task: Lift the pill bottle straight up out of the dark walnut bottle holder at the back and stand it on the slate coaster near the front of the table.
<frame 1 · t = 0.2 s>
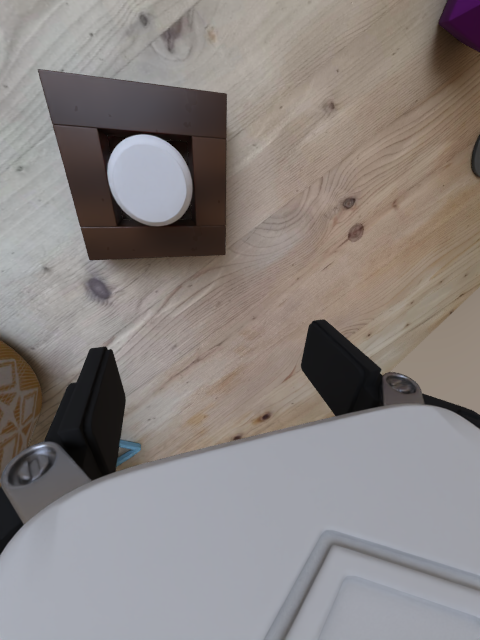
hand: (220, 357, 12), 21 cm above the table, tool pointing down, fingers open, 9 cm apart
pill bottle: (153, 181, 26), resting in holder
chair: (108, 453, 43), on the table
perfume bottle: (460, 7, 25), on the table
holder: (153, 181, 25), on the table
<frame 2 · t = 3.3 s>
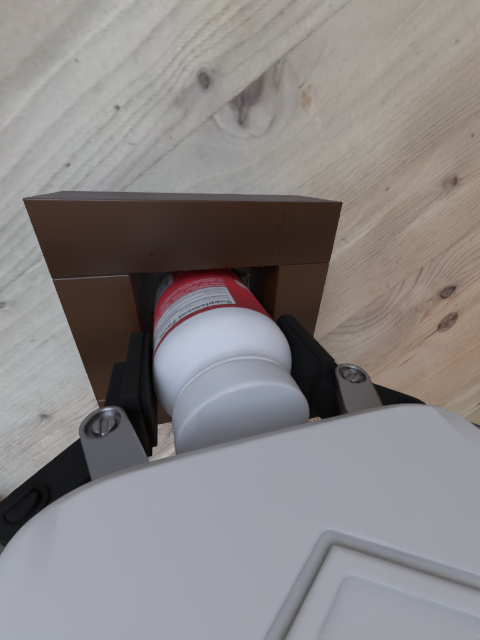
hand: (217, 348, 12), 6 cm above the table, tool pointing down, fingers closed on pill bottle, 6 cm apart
pill bottle: (200, 297, 18), resting in holder, touching gripper
holder: (200, 298, 17), on the table
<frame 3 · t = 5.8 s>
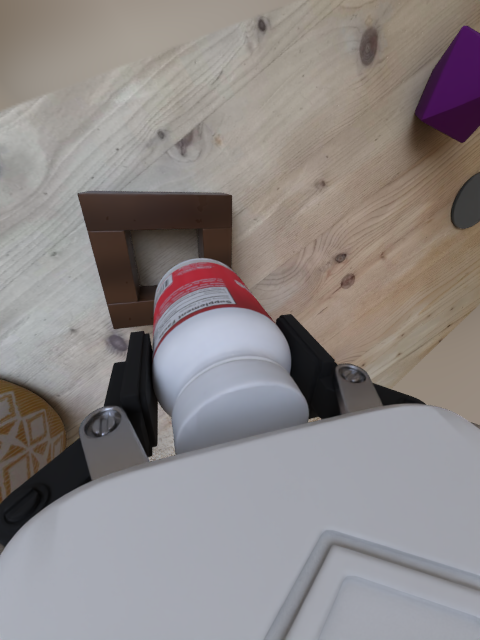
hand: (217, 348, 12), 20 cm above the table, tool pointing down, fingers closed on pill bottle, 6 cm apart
pill bottle: (200, 297, 18), point 14 cm above the table, touching gripper
coaster: (473, 200, 38), on the table
perfume bottle: (433, 99, 29), on the table
holder: (167, 255, 29), on the table
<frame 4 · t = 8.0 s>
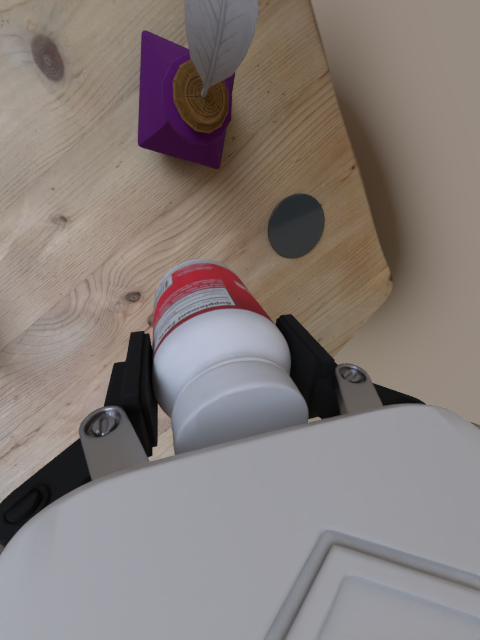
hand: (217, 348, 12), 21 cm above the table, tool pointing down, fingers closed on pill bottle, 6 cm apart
pill bottle: (199, 298, 18), point 15 cm above the table, touching gripper
coaster: (295, 227, 33), on the table
perfume bottle: (182, 116, 24), on the table
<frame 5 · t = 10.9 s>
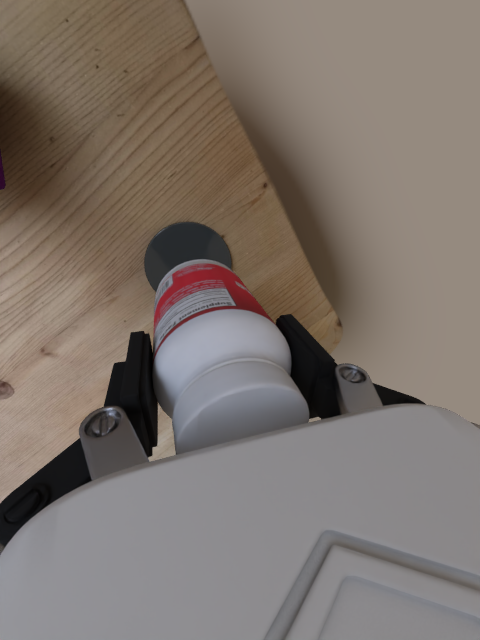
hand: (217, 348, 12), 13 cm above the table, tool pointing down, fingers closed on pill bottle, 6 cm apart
pill bottle: (200, 298, 18), point 7 cm above the table, touching gripper
coaster: (189, 266, 23), on the table
when the fingers open (6 cm above the table, at t = 13.0 s): pill bottle stays where it is, resting on coaster.
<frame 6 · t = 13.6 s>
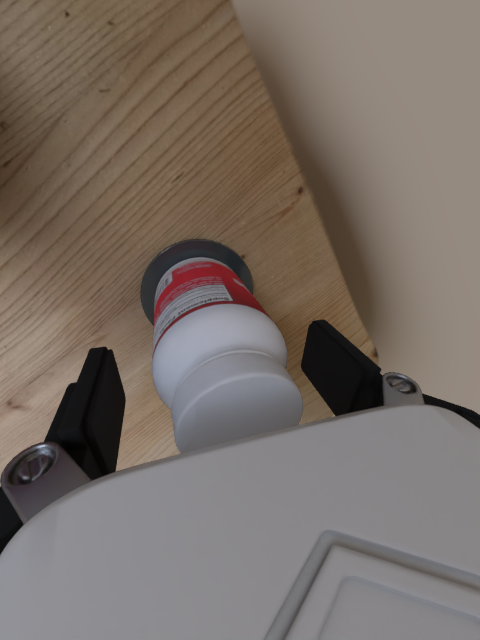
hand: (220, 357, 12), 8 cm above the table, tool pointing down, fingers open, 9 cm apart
pill bottle: (199, 296, 18), resting on coaster
coaster: (199, 294, 18), on the table
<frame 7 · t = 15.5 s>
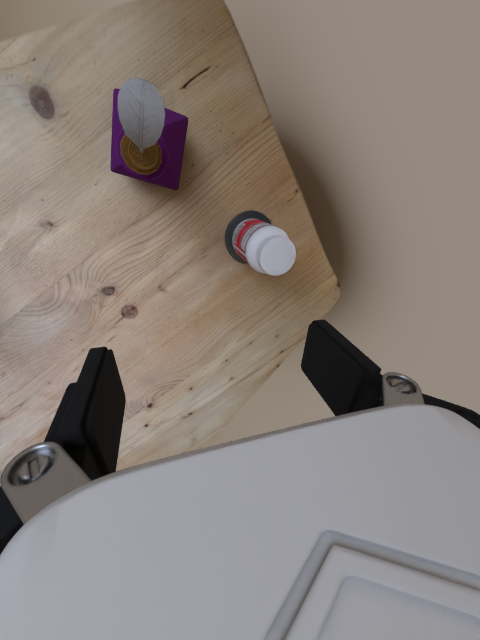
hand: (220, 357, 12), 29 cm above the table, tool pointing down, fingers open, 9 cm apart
pill bottle: (249, 238, 39), resting on coaster
coaster: (249, 238, 39), on the table
perfume bottle: (150, 147, 30), on the table
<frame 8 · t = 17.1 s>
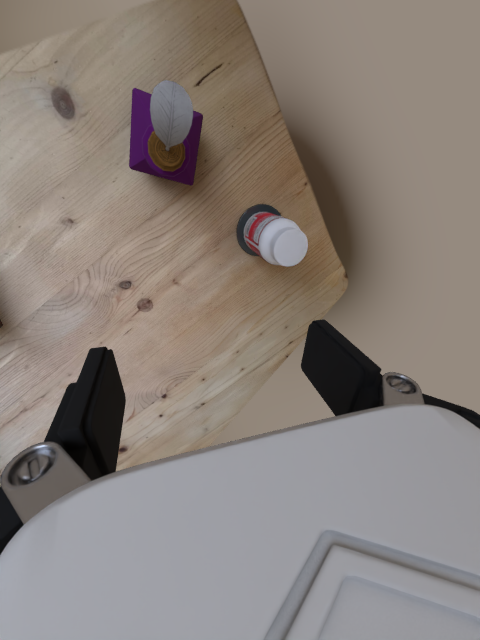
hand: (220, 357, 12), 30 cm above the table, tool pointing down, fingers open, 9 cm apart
pill bottle: (260, 231, 40), resting on coaster
coaster: (260, 231, 40), on the table
perfume bottle: (165, 144, 31), on the table
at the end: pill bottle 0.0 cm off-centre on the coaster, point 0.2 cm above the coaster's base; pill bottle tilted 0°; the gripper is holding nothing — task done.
